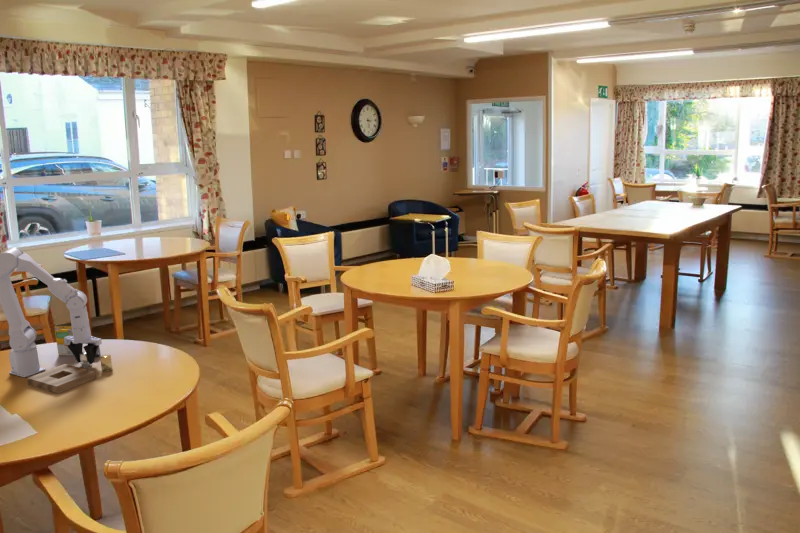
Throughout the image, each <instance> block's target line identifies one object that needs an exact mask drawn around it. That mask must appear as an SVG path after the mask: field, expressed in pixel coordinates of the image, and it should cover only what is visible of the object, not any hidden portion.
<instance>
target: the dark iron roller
mask: <svg viewBox="0 0 800 533" xmlns="http://www.w3.org/2000/svg"><path fill="white" fill-rule="evenodd" d="M101 354H102V353H101V348H100V345H99V346H98V349H97V352H96V356H95V359H97V358H100V357H101V356H102V355H101Z"/></svg>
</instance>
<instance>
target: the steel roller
mask: <svg viewBox="0 0 800 533" xmlns="http://www.w3.org/2000/svg"><path fill="white" fill-rule="evenodd" d="M79 355H80V361H81V362H80V366H81V367H80V368H83V369H88V368H91V367H93V363H92V364H89V362H88V357H87V354H86V351H85V350H84V351H82V352H81V353H80V354H79Z"/></svg>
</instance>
